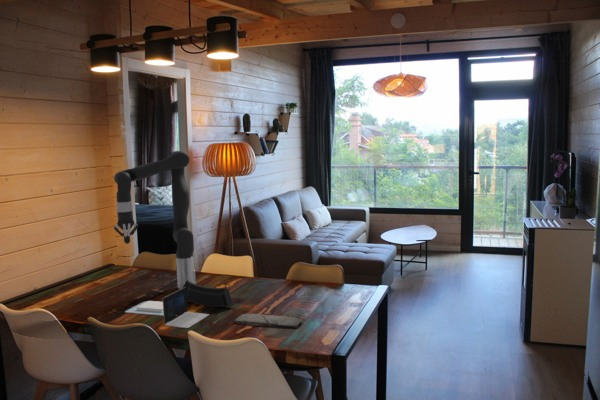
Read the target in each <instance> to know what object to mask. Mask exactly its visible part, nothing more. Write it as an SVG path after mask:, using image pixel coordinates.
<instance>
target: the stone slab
mask: <svg viewBox="0 0 600 400" xmlns="http://www.w3.org/2000/svg"><path fill="white" fill-rule="evenodd" d="M302 321H303V319H302V318H297V317H292V316H291V317H290V316H283V315H274V314H273V315H272V314H264V313H263V314H261V313H242V314H240V315H239V316H238V317H237V318H235V319H234V323H235V324H238V325H244V326H245V325H246V326H253V327H254V326H255V327H264V328H265V327H266V328H278V329H280V328H281V329H291V330H293V329H294V330H297V329H298V328H299V325H300V323H302Z"/></svg>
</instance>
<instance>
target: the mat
mask: <svg viewBox="0 0 600 400" xmlns="http://www.w3.org/2000/svg"><path fill="white" fill-rule="evenodd" d="M145 302H147V301H142V302H140V303H138V304H137V305H134V306H132V307H130V308H129V309H127V310H125V311H124V313H126V314H138V315H147V316H148V315H151V316H159V317H160V316H161V317H164V313H163V312H152V311H140V310H137V307H138V306H140V305H141V304H143V303H145Z"/></svg>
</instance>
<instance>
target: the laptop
mask: <svg viewBox="0 0 600 400" xmlns="http://www.w3.org/2000/svg"><path fill="white" fill-rule="evenodd" d="M162 302H163V313H164V316H163V324H164V326H166V327H175V328H179V329H181V328H182V329H189V328H190V327H192V326H194V325H196V324H197V323H199V322H200V321H202V320H204V319H205V318H207V317H208V316H210V314H209V313H201V312H192V311H188V302H187V297H186V287H184V288H182V289H178V290H176V291H174V292H172V293H170V294H168V295H165V296H164V297H162Z"/></svg>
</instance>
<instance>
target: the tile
mask: <svg viewBox="0 0 600 400" xmlns="http://www.w3.org/2000/svg"><path fill="white" fill-rule="evenodd" d="M137 310H140V311H152V312H163V301H157V300H156V301H155V300H147V301H146V302H145V303H143V304H141V305H140V306H138V307H137Z"/></svg>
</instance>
